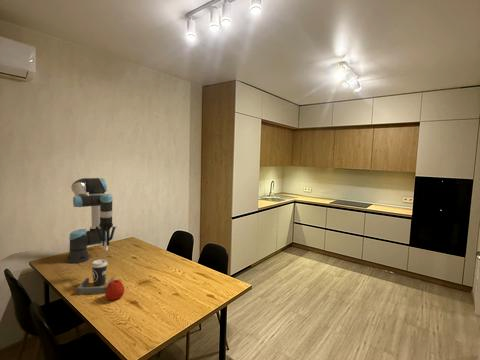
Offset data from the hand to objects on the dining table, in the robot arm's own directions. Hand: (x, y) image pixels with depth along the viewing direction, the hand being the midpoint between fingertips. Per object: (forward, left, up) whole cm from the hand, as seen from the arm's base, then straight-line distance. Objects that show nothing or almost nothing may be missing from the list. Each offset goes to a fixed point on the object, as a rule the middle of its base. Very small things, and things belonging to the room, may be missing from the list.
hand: (106, 249), depth 181 cm
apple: (+30, +15, -18) cm, 39 cm away
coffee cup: (+13, 0, -18) cm, 22 cm away
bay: (+18, 0, -18) cm, 25 cm away
